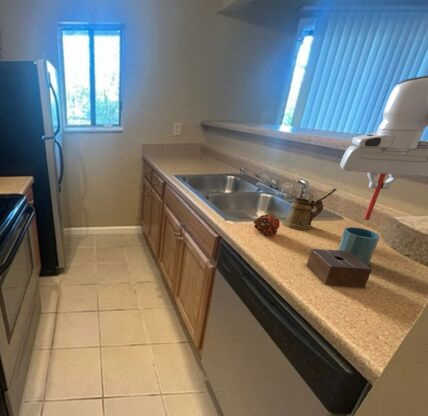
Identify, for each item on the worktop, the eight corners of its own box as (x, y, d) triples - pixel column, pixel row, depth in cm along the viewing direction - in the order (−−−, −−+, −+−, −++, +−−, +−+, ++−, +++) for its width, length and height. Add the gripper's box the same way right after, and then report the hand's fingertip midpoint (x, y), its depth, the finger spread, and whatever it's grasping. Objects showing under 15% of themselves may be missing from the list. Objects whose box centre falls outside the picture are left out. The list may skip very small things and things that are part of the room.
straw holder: (341, 267, 86) (347, 250, 83) (364, 287, 76) (372, 269, 74) (306, 265, 87) (311, 248, 85) (324, 284, 78) (331, 266, 76)
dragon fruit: (262, 242, 104) (260, 234, 115) (286, 233, 100) (282, 226, 111) (251, 223, 105) (250, 216, 115) (274, 213, 101) (271, 207, 111)
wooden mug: (322, 235, 106) (336, 191, 100) (282, 225, 115) (292, 184, 108) (324, 228, 112) (338, 186, 106) (286, 219, 121) (296, 180, 114)
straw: (368, 218, 85) (392, 154, 78) (369, 220, 84) (394, 154, 77) (363, 218, 85) (386, 153, 78) (364, 219, 84) (388, 154, 77)
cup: (362, 256, 92) (372, 229, 88) (373, 269, 85) (384, 240, 81) (332, 251, 95) (341, 225, 91) (340, 263, 88) (349, 235, 84)
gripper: (440, 140, 74) (419, 189, 79) (346, 137, 82) (332, 181, 87) (456, 143, 69) (433, 195, 74) (353, 140, 77) (339, 187, 82)
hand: (377, 188), depth 81 cm, fingers closed on straw, 1 cm apart
